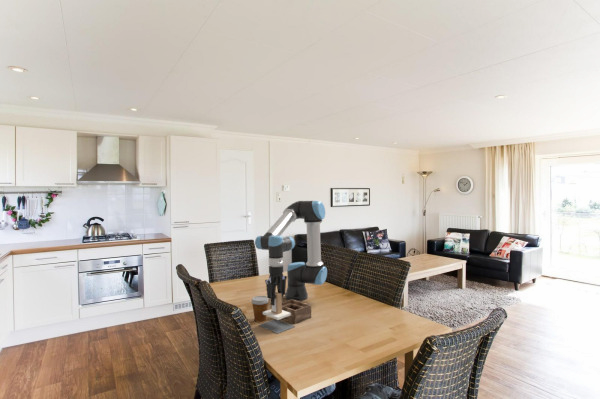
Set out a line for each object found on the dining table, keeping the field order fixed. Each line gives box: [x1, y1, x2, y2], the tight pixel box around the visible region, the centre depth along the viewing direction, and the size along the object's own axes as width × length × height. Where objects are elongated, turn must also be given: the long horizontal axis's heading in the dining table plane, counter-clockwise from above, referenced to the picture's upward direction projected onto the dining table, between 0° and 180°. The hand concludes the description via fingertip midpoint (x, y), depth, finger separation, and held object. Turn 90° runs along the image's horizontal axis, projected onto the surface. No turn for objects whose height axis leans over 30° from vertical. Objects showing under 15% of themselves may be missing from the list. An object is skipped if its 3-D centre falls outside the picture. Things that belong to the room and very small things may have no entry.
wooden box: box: [281, 299, 312, 325], centre depth 186 cm, size 16×13×7 cm
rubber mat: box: [258, 318, 296, 335], centre depth 173 cm, size 15×12×1 cm
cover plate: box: [263, 291, 291, 320], centre depth 173 cm, size 12×9×11 cm
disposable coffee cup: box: [251, 295, 270, 323], centre depth 183 cm, size 10×10×12 cm
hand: (276, 310), depth 173 cm, fingers closed on cover plate, 3 cm apart
